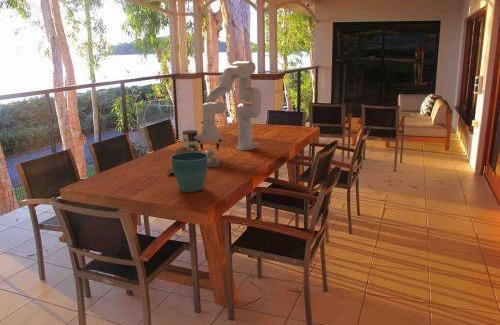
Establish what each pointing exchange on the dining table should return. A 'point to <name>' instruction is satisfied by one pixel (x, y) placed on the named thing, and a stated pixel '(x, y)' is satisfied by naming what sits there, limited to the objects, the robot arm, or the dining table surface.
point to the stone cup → (178, 150)
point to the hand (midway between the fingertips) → (209, 149)
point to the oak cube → (211, 155)
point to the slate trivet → (213, 163)
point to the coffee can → (190, 139)
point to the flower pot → (190, 170)
